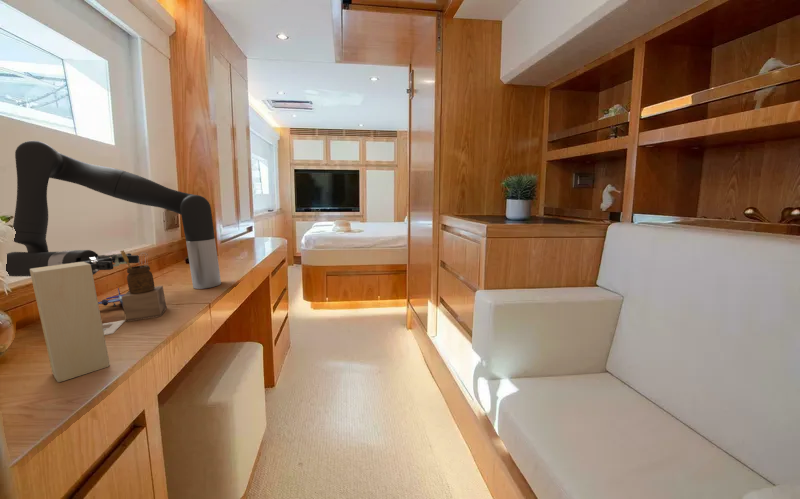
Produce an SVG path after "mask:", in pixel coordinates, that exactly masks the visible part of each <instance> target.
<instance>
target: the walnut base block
mask: <svg viewBox="0 0 800 499" xmlns="http://www.w3.org/2000/svg"><path fill="white" fill-rule="evenodd" d="M124 294H125V295H123V296H122V301H123V305H122V308H124V309H123V311H124V317H125V322H127V323H128V322H132V321H139V320H145V319H151V318H152V319H153V318H158V317H159V318H160V317H162V316H163V315H164V313H165V311H166V310H167V306H168V305H167V303H166V298H165V292H164V286H163V285H158V286H154V290H152V291H149V292H145V293H139V294H132V293H130V291H129V290H128V291H127V292H126V293H124Z"/></svg>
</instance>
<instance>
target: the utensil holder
mask: <svg viewBox="0 0 800 499" xmlns="http://www.w3.org/2000/svg"><path fill="white" fill-rule="evenodd" d="M120 254H122V256H123V258H124V261H125V262H127V266H128V268H127V270H126V272H127V276H126V282H127V286H128V291H130V293H132V294H139V293H145V292H149V291H152V290H154V287H155V282H154V275H153V272H152V271H150V270H151V267H150V265H148V264H144V265H143V261H142V260H143V259H141V264H140V263H138V265H135V266H131V265H130V264H131V263H129V262H128V261H129V259H128V258H127V256H126V254H127V253H126V251H125V250H120ZM144 254H145V255H144V256H145V260H144V261H145V262H144V263H146V258H147V256H146V255H147V253H144ZM141 255H142V252H140V254H139V255H138V256H139V257H140V256H141Z"/></svg>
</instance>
